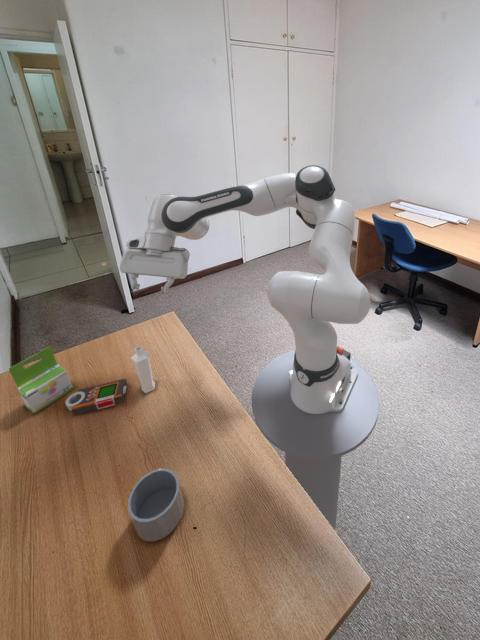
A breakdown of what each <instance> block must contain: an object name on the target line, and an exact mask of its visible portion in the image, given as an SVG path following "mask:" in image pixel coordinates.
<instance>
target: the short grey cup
mask: <svg viewBox="0 0 480 640" xmlns="http://www.w3.org/2000/svg"><path fill="white" fill-rule="evenodd" d="M184 508H185V501H184V495H183V493H182V488H181V484H180V480H179V477H178V475H177V474H176V473H175V472H174V471H173V470H171V469H170V468H169V469H168V468H157V469H154V470H152V471H150V472H148V473H146V474H145V475H143V476H142V477H141V478H140V479H138V481H137V482H136V483H135V484H134V486H133V488H132V489H131V491H130V494H129V495H128V500H127V510H128V515H129V517H130V520H131V522H132V524H133V527H134V530H135V533H136V534H137V536H138V537H139V538H140V539H141V540H143V541H145V542H157V541H160V540H163V539H165V538H166V537H167V536H168V535H170V534H171V533H172V532H173V531H174V530H175V529H176V527H177V526H178V525H179V523H180V521H181V519H182V517H183V514H184V510H185V509H184Z"/></svg>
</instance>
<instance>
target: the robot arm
mask: <svg viewBox="0 0 480 640" xmlns="http://www.w3.org/2000/svg"><path fill="white" fill-rule="evenodd" d="M335 192H336V187H335V185H334V183H333V180H332V177H331V176H330V173H329V172H328V170H327V169H326V168H324V167H323V166H321V165H316V164H312V165H307V166H304V167H302V168H301V169H300V170H299V171H298V172H297V173H295V172H285V173H279V174H274V175H270V176H267V177H265V178H262V179H259V180H255V181H251V182H249V183H246V184H241V185H236V186H231V187H228V188H223V189H220V190H217V191H212V192H209V193H208V192H207V193H205V194H200V195H197V196H196V195H195V196H177V195H175V194H171V193H163V194H160V195H157V196H156V197H154V199H153V201H152V203H151V207H150V208H149V209H150V210H149V213H148V217H147V227H146V231H145V232H144V236H141V237H138V238H135V239H130V240H128V241H126V245H125V246H126V248H127V249H125V250H124V251H123V254H122V257H121V260H120V263H119V271H120V272H121V273H123V274H129V280H130V282H131V287H130V289H131V290H135V291H139V290H140V287H141V284H140V283H138V279H139V276H150V277H159V278H160V277H161V278H166V279H165V281H166V283H165V284H164V285H163V286H161V287H160V293H164V294H169V291H170V287H171V286H172V285H173V284H174V282H175V279H181V280H183V279H186V277H187V275H188V269H189V268H188V267H189V260H190V252H189V250H188V249H186V248H185V247H177V246H175V243H176V238H177V237H182V238H185V239H187V240H192V241H198V240H201V239H202V238H204V237H205V236H206V235H207V234H208V231H209V229H210V221H209V219H208V218H209V217H212V216H217V215H219V214H222V213H226V212H230V211H238V212H243V213H246V214H248V215H251V216H252V217H253V216H254V217H261V216H266V215H270V214H273V213H276V212H278V211H281V210H283V209H287V208H294V209H296V210H295V215H297V217H299V218H300V220H302V222H303V223H304V224H305V225H306V226H307V227H308V228H310V229H311V230H313V233H312V236H311V240H310V243H309V246H308V255H309V258H310V260H311V261H312V263H313V264H314V265H315V266H317V268H319V269H321V270H322V271H323V272H324V273H323V274H322V273H321V274H319V273H312V272H307V271H300V270H280V271H278V272H276V273H275V274H274V275H273V276H272V277H271V278H270V280H269V283H268V285H267V290H266V291H267V292H266V293H267V299H268V302H269V304H270V306H271V307H272V308H273V309H274V310H276V311H277V312H278V313H279V314H281V316H282V317H283V319H285V320H286V322H287V324H288V325H289V327H290V329H291V331H292V333H293V335H294V342H295V343H294V344H295V349H296V351H295V354H294V361H293V366H292V371H290V375H289V382H290V384H291V389H290V395H291V399H292V401H293V403H294V404H295V406H296V407H298V408H299V409H300V410H302V411H304V412H306V413H309V414H323V413H327V412H331V411H332V412H341V411H343V409H344V407H345V405H346V402H347V400H348V398H349V395H350V393H351V391H352V388H353V386H354V384H355V381H356V379H357V377H358V372H357V370H356V369H355V368H354V367H353V366H352V365H351V363H350V358H351V357H352V356H351V352H349V351H347V350H346V349H344V348H343V347H340V346H339V345H338V335H337V331H336V329H335V327H334V326H333V325H332V323H333V324H339V325H357V324H360V323H362V322H363V320H365V319H366V317H367V316H368V314H369V313H370V312H369V311H370V309H371V296H370V295H371V294H370V293H369V290H368V289H367V287H366V285H365V284H364V283H362V282H361V280H359V278H357V276H356V275H355V273H354V271H353V269H352V265H351V251H352V246H353V240H354V235H355V229H356V228H355V227H356V211H355V208H354V207H353V205H352V204H351V203H350V202H348V201H346V200H344V199H339V198H337V197H336V195H335ZM339 403H341V404H339Z"/></svg>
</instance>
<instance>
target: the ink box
mask: <svg viewBox="0 0 480 640" xmlns="http://www.w3.org/2000/svg"><path fill="white" fill-rule="evenodd" d="M39 357H41V359H40V360H38V361H36V362H35V363H34V362H33V364H31V365H29V366H27V367H24V366H25V365H26V364H28V363H29V362H30V361H32V360H34V359H36V358H39ZM8 371H9V372H10V375H11V376H12V379H13V381H14V383H15V384H16V386H17V392H18V394H19V396H20V398H21V400H22V402H23V404H24V406H25V407H26V408H27V409H28V410H29V412H30V413H32V414H33V415H36V414H37V413H39V412H41V411H42V410H43V409H45V408H47V407H48V406H49V405H51V404H53V403H54V402H55V401H57V400H59V399H60V398H61V397H63V396H65V395H66V394H67V393H69V392H71V391H72V390H73V389H74V386H73V384H72V381H71V378H70V377H69V374H68V372H67V370H66V369H65V368H64V367H62V366H61V364H59V363H58V362H57V360H56V357H55V354H54V352H53V350H52V347H51V345H49V346H47V347H45V348H43V349H41V350H40V351H38V352H36V353H34V354H32V355H30V356H29V357H27V358H25V359H23V360H22V361H19V362H18V363H16V364H14V365H12V366H10V367H9V368H8Z"/></svg>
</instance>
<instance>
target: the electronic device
mask: <svg viewBox="0 0 480 640" xmlns="http://www.w3.org/2000/svg"><path fill="white" fill-rule="evenodd" d="M127 388H128V381H127V378H122V379H118V380H113V381H110V382H105V383H101V384H98V385H92V386H89V387H85V388H80V389H78V391H76V392H74V393H72V394H71V395H69V396H68V397H67V398H66V400H65V402H64V404H65V406H66V408H67V410H68V411H70V412H72V413H73V415H74V416H76V415H79V414H83V413H87V412H91V411H94V410H98V411H99V410H102V409H106V408H110V407H113V406H115V405H119V404H122V403H124V401H125V397H126V394H127V393H126V392H127Z"/></svg>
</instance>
